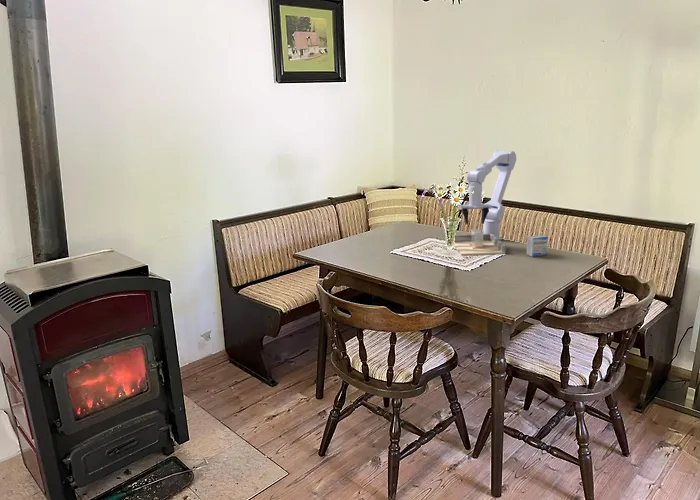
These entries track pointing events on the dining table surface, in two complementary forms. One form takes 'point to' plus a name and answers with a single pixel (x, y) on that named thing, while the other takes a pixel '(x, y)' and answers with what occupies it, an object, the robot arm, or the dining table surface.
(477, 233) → the aluminium block
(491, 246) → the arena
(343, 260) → the dining table surface
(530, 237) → the medicine box
